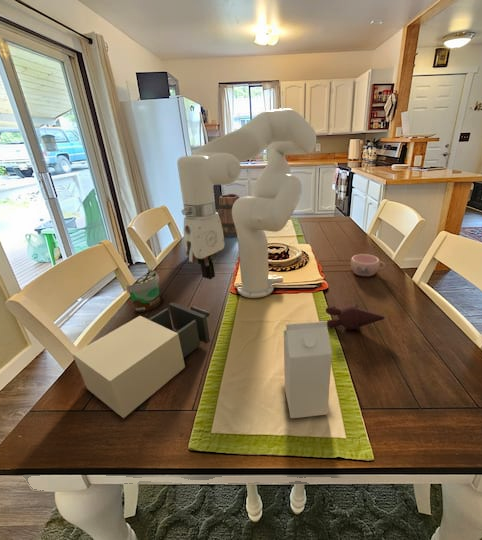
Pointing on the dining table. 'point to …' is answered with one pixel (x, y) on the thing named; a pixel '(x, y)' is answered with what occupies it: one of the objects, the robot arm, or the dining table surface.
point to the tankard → (227, 214)
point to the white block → (130, 363)
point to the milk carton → (307, 368)
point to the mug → (365, 264)
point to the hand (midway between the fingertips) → (208, 276)
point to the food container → (145, 292)
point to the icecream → (351, 317)
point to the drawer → (185, 325)
